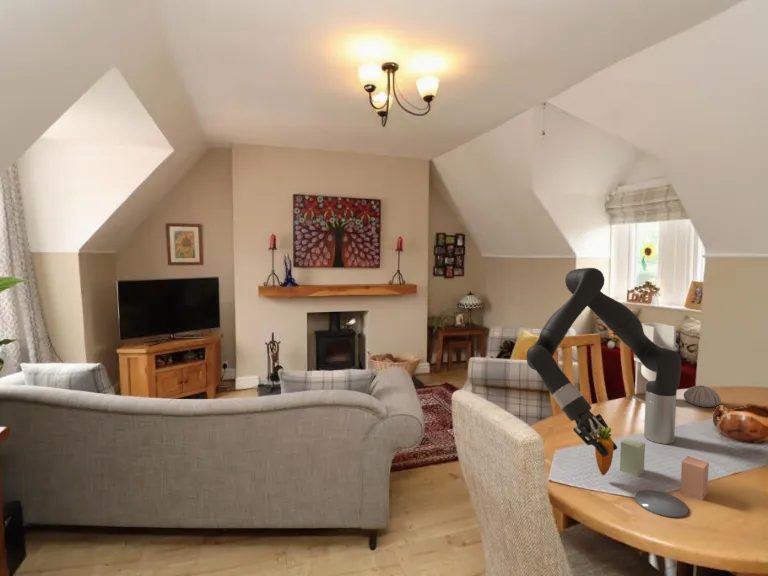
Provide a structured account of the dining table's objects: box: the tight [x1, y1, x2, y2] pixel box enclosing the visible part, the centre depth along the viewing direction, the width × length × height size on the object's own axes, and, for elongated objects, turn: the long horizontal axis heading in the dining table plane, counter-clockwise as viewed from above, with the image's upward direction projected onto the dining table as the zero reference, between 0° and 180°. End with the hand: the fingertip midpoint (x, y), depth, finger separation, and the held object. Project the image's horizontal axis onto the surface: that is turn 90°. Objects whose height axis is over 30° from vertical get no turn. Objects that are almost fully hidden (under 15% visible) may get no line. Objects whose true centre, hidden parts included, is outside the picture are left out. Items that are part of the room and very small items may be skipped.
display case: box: [632, 322, 677, 405], centre depth 191 cm, size 11×11×35 cm
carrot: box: [594, 425, 614, 476], centre depth 125 cm, size 5×5×15 cm
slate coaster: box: [634, 489, 689, 519], centre depth 114 cm, size 12×12×1 cm
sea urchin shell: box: [683, 385, 722, 408], centre depth 189 cm, size 13×14×8 cm
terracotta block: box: [679, 455, 710, 501], centre depth 118 cm, size 5×5×9 cm
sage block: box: [619, 437, 646, 477], centre depth 131 cm, size 5×5×9 cm
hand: (610, 452), depth 123 cm, fingers closed on carrot, 5 cm apart
